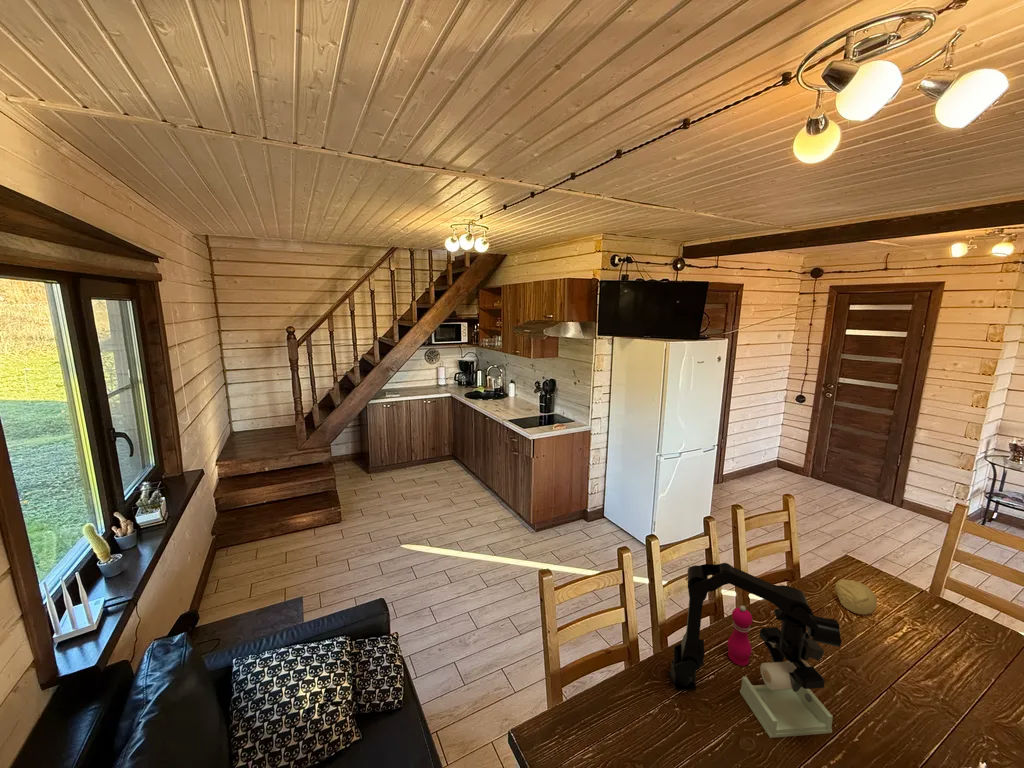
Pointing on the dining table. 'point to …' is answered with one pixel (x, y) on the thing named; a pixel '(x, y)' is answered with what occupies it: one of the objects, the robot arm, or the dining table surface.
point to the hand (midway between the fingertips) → (786, 680)
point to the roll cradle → (787, 710)
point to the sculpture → (856, 596)
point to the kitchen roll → (778, 674)
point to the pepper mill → (740, 637)
